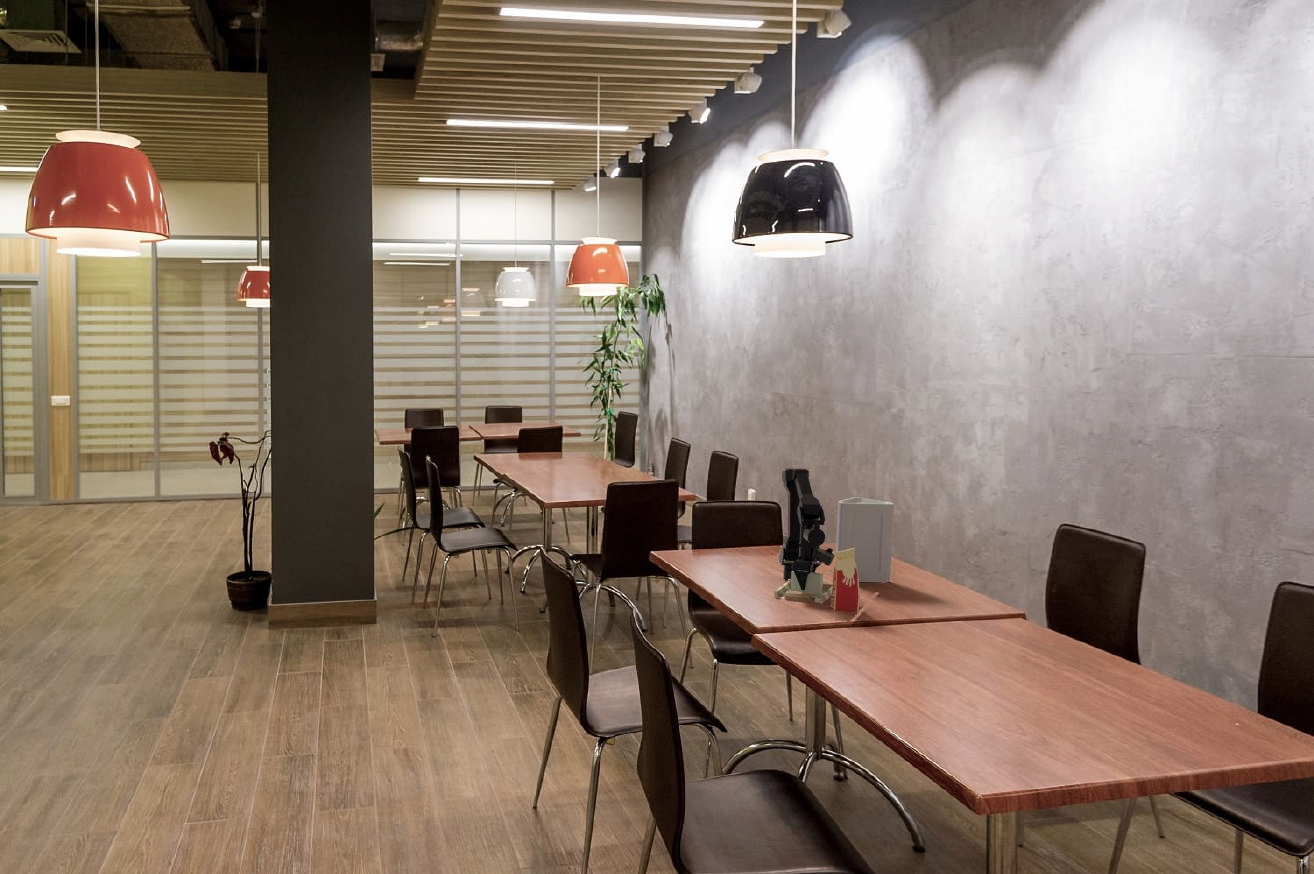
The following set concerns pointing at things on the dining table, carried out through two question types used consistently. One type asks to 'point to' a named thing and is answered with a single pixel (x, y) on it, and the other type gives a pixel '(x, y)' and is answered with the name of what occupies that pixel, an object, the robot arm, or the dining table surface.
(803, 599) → the offcut
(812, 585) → the sheet
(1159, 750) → the dining table surface
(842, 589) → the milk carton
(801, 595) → the offcut
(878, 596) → the dining table surface
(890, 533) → the grey tall prism
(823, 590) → the rack
